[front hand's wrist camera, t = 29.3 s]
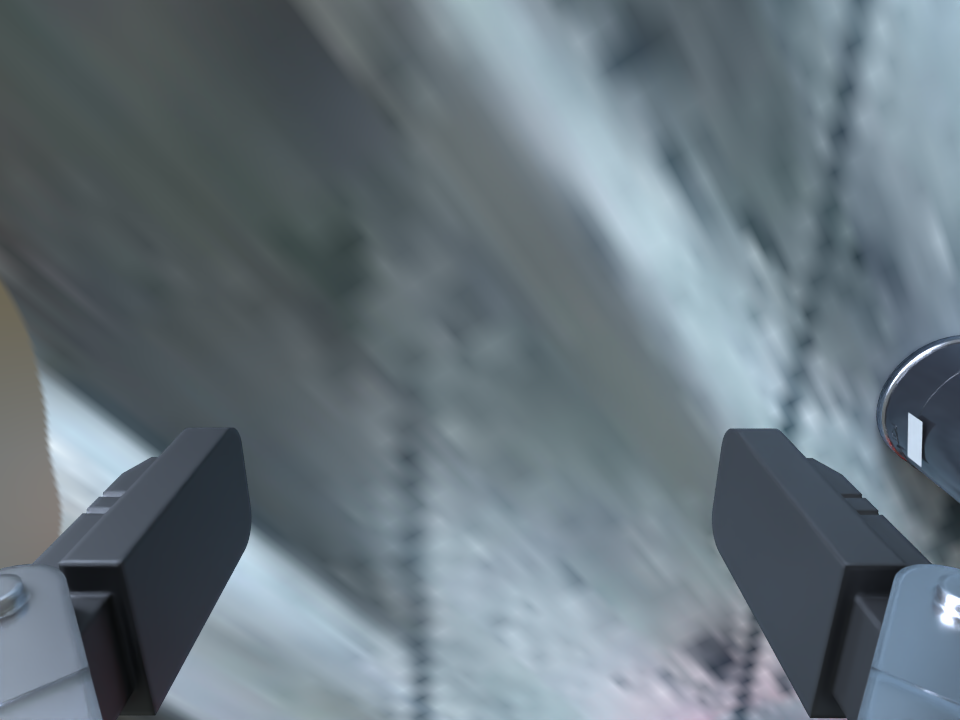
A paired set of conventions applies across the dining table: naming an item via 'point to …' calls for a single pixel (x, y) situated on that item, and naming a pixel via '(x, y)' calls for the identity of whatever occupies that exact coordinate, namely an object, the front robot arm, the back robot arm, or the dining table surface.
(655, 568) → the dining table surface
